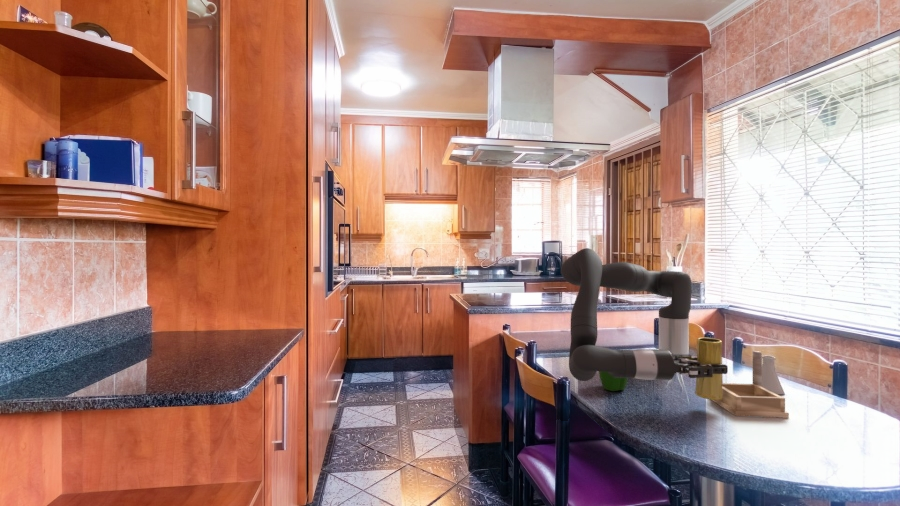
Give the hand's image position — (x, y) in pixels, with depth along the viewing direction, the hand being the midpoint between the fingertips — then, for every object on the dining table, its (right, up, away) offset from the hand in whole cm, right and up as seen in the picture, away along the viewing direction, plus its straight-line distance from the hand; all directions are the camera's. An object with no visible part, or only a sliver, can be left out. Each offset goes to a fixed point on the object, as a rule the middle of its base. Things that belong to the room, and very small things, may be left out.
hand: (719, 365), depth 104 cm
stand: (+8, -11, +2) cm, 14 cm away
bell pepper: (-20, -12, +17) cm, 29 cm away
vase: (-2, -8, 0) cm, 8 cm away
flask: (+24, -12, +15) cm, 30 cm away
